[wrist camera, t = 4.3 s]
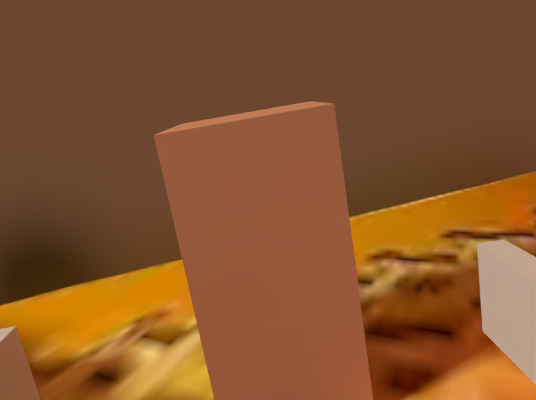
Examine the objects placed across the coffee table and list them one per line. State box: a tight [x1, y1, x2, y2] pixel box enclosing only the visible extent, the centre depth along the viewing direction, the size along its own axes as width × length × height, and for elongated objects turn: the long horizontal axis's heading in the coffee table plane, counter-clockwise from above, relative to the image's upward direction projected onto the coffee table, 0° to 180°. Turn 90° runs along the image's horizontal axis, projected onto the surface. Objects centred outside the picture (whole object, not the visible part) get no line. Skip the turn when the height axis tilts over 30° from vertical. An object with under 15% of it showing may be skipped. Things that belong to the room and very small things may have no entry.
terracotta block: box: [154, 102, 373, 400], centre depth 19 cm, size 6×6×12 cm
